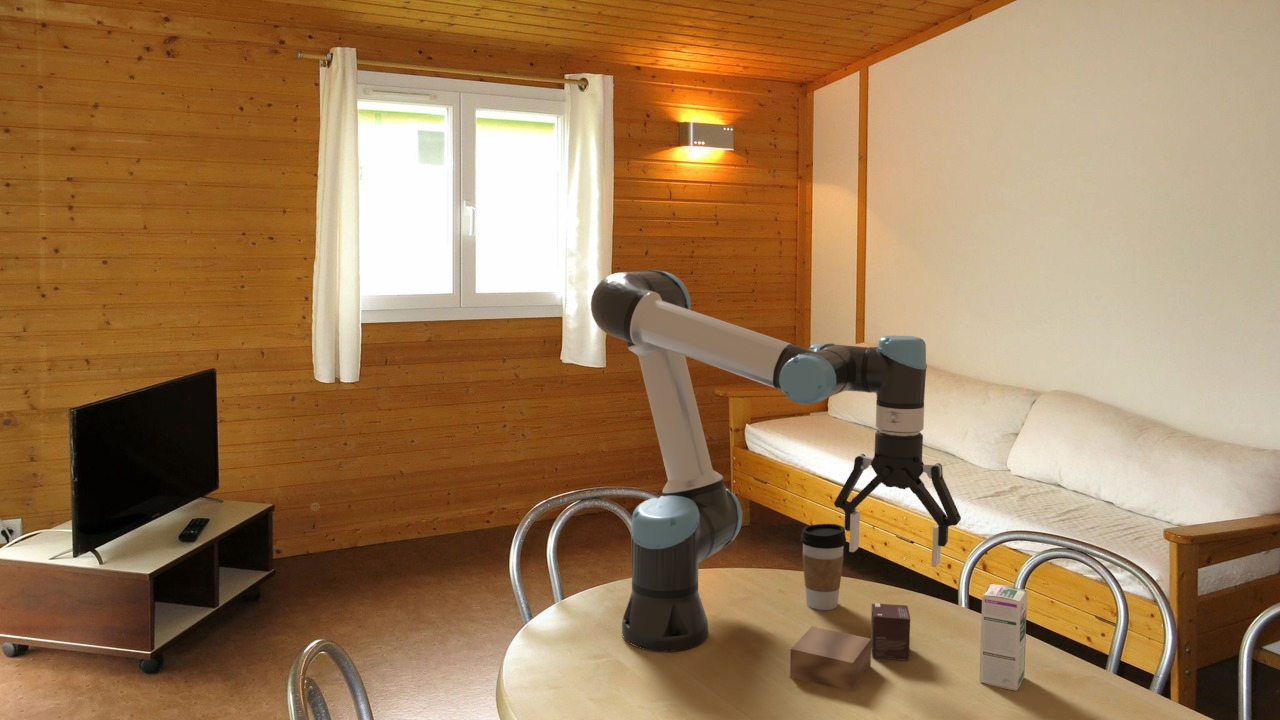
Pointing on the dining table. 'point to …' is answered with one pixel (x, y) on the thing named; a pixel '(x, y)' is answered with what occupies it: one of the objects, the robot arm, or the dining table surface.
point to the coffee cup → (823, 564)
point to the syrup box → (1003, 636)
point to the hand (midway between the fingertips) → (893, 557)
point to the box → (890, 631)
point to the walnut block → (830, 658)
